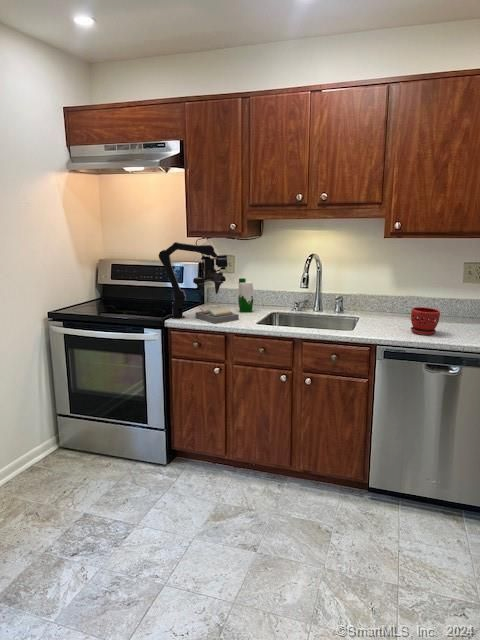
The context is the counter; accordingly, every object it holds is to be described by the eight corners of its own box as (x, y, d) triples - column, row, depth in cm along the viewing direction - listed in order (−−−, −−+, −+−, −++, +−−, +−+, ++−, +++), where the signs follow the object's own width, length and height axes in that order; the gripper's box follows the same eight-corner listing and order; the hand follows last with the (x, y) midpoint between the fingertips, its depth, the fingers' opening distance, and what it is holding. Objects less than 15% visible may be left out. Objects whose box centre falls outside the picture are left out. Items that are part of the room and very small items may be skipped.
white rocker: (199, 310, 267) (199, 307, 266) (216, 307, 274) (216, 304, 273) (204, 314, 263) (205, 310, 262) (222, 311, 270) (222, 308, 269)
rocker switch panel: (195, 317, 267) (195, 312, 267) (218, 314, 277) (218, 308, 276) (214, 323, 252) (214, 318, 251) (238, 319, 261) (238, 314, 260)
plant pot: (420, 337, 223) (422, 312, 220) (404, 330, 235) (406, 307, 232) (443, 335, 226) (446, 311, 223) (427, 329, 238) (429, 306, 235)
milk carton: (238, 309, 289) (238, 277, 285) (252, 309, 289) (253, 277, 285) (238, 312, 281) (238, 279, 276) (253, 312, 281) (253, 279, 276)
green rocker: (208, 312, 259) (209, 309, 258) (226, 309, 266) (226, 306, 265) (214, 317, 255) (214, 314, 254) (232, 314, 262) (232, 311, 261)
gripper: (202, 269, 252) (203, 298, 255) (231, 267, 262) (231, 294, 266) (192, 268, 260) (193, 295, 264) (219, 265, 271) (220, 292, 275)
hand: (209, 294), depth 267 cm, fingers open, 9 cm apart
